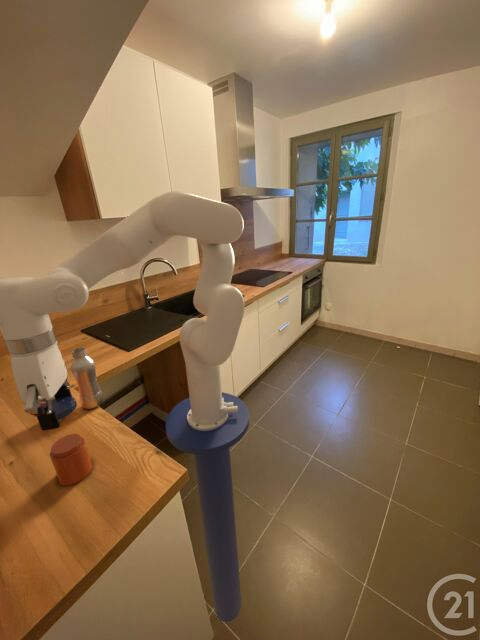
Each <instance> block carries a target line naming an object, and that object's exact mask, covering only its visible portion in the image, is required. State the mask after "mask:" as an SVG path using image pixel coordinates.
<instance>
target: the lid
mask: <svg viewBox="0 0 480 640" xmlns="http://www.w3.org/2000/svg"><path fill="white" fill-rule="evenodd" d="M77 405H78V403H77V401H76V399H75V397H73V396H72V397H70V396H65V397H59V398H56V399H53V400H52V410H55V411H56V414H57V417H58V419H59V420H61V419H62V420H63V419H65V418H67V417H68V416H69V415H71V414H73V412H74V411H75V410H76V408H77V407H78V406H77ZM41 407H46V403H45V404H44V405H42V406H41ZM62 420H61V421H62Z"/></svg>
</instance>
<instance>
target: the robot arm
mask: <svg viewBox="0 0 480 640" xmlns="http://www.w3.org/2000/svg"><path fill="white" fill-rule="evenodd" d="M244 224H245V223H244V218H243V215H242V214H241V212H240V211H239V210H238V208H236V206H233V205H232V204H230V203H226V202H223V201H218V200H215V199H211V198H207V197H203V196H200V195H196V194H193V193H189V192H186V191H185V192H184V191H178V190H171V191H168V192H165V193H162V194H160V195H157V196H155V197H154V198H152V199H150V200H149V201H147V202H146V203H145V204H143V205H141V206H140V207H139V208H138V209H136V210H135V211H133V212H131V214H129V215H127V216H126V217H124V219H122V220H120V221H119V222H117V223H116V224H114V225H113V226H111V227H109V228H108V229H107V230H106V231H105V232H103V233H102V234H100V235H99V236H98V237H97V238H95V239H94V240H93V241H92V242H90V243H89V244H88V245H85V247H83V248H82V249H80V250H78V251H77V252H76V253H74V254H73V255H72V256H70V257H69V258H67V259H66V260H64V261H63V262H62V263H60V264H58V265H57V266H56V267H54V268H53V269H52V270H50V271H49V272H48V273H47V274H45V276H41V277H31V276H25V275H24V276H11V277H4V278H0V332H1V335H2V337H3V340H4V342H5V345H6V346H7V349H8V353H9V355H10V356H11V357H10V365H11V371H12V375H13V379H14V382H15V386H16V389H17V392H18V395H19V397H20V400H21V402H22V404H24V412H25V413H27V414H30V415H31V416H33V417H35V418H36V419H37V421H38V424H39V426H40V429H41V431H45V432H46V431H50V430H56V429H59V428H60V427H61V421H59V419H58V417H57V414H56V411H55V410H52V397H53V396H54V397H55V399H56V398H59V397H65V396H70V397H73V394H72V392H71V388H70V383H69V381H68V378H69V376H68V370H67V369H68V367H67V365H66V364H65V360H64V358H63V355H62V353H61V351H60V348H59V346H58V343H59V342H58V340H57V336H56V333H55V330H54V327H53V324H52V321H51V318H50V315H49V314H60V313H71V312H75V311H77V310H80V309H81V308H83V307H84V306H85V305H86V303H88V300H89V296H90V291H89V290H90V289H91V288H92V287H94V286H95V285H96V284H99V282H101V281H102V280H104V279H105V278H107V277H108V276H110V275H112V274H114V273H116V272H119V271H121V270H127V269H129V268H131V267H133V266H135V265H138V264H139V263H141V262H142V261H143V260H145V258H147V257H148V256H149V255H150V254H151V253H153V252H154V251H156V250H157V249H158V248H159V247H161V246H162V245H164V244H165V243H166V242H168V241H169V240H171V238H173V237H174V236H181V237H186V238H191V239H196V240H197V242H198V244H199V246H200V249H201V252H202V262H201V267H200V272H199V275H198V278H197V279H198V280H197V283H196V286H195V289H194V293H193V298H192V299H193V300H192V303H193V306H194V308H195V309H196V310H197V312H199V313H201V314H202V315H204V316H205V317H206V319H204V318H201V317H193V318H189V319H188V320H186V321H185V322H184V323H183V324H182V325H181V328H180V330H179V345H180V348H181V352H182V355H183V360H184V365H185V371H186V372H185V373H186V380H187V388H188V395H189V397H190V404H191V409H190V410H189V412H188V414H187V421H188V424H189V425H190V426H191V427H192V428H194V429H196V430H200V431H209V430H213V429H216V428H218V427H220V426H222V425H223V424H224V423H225V422H226V420H227V418H228V413H238V407H237V406H233V402H229V403H226V402H224V398H222V392H223V391H222V381H221V367H220V365H223V364H224V363H225V362H227V360H228V359H229V358H230V357H231V355H232V353H233V350H234V348H235V345H236V342H237V339H238V335H239V333H240V329H241V325H242V321H243V318H244V314H245V299H244V296H243V294H242V292H241V291H240V290H239V289H238V288H237V287H235V286H234V285H231V282H232V278H233V274H234V269H235V263H236V261H235V253H234V249H233V247H232V243H235V242H236V241H238V240H239V239H240V237H241V236H242V234H243V232H244V228H245V227H244V226H245V225H244ZM38 396H44V397H45V398H42V399H38ZM189 397H188V398H189ZM44 401H46V407H40V404H39V402H44Z"/></svg>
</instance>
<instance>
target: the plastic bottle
mask: <svg viewBox="0 0 480 640" xmlns="http://www.w3.org/2000/svg"><path fill="white" fill-rule="evenodd" d="M71 356H72V358H73V360H72V362H71V365H70V371H71V372H72V375H73V377H74V379H75V381H76V384H77V386H78V393H79V394H78V395H79V404H80V405H81V407H82V408H83V409H87V410H91V409H94V408H97V407H99V406H100V405H101V404H102V403H103V400H104V394H103V391H102V389H101V388H100V385H99V383H98V379H97V370H96V361H95V360H94V359H93V357H90V356H89V355H88V352H87V349H86V348H85V347H78V348H77V347H76V348H74V349H72V350H71ZM96 405H97V406H96Z"/></svg>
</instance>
